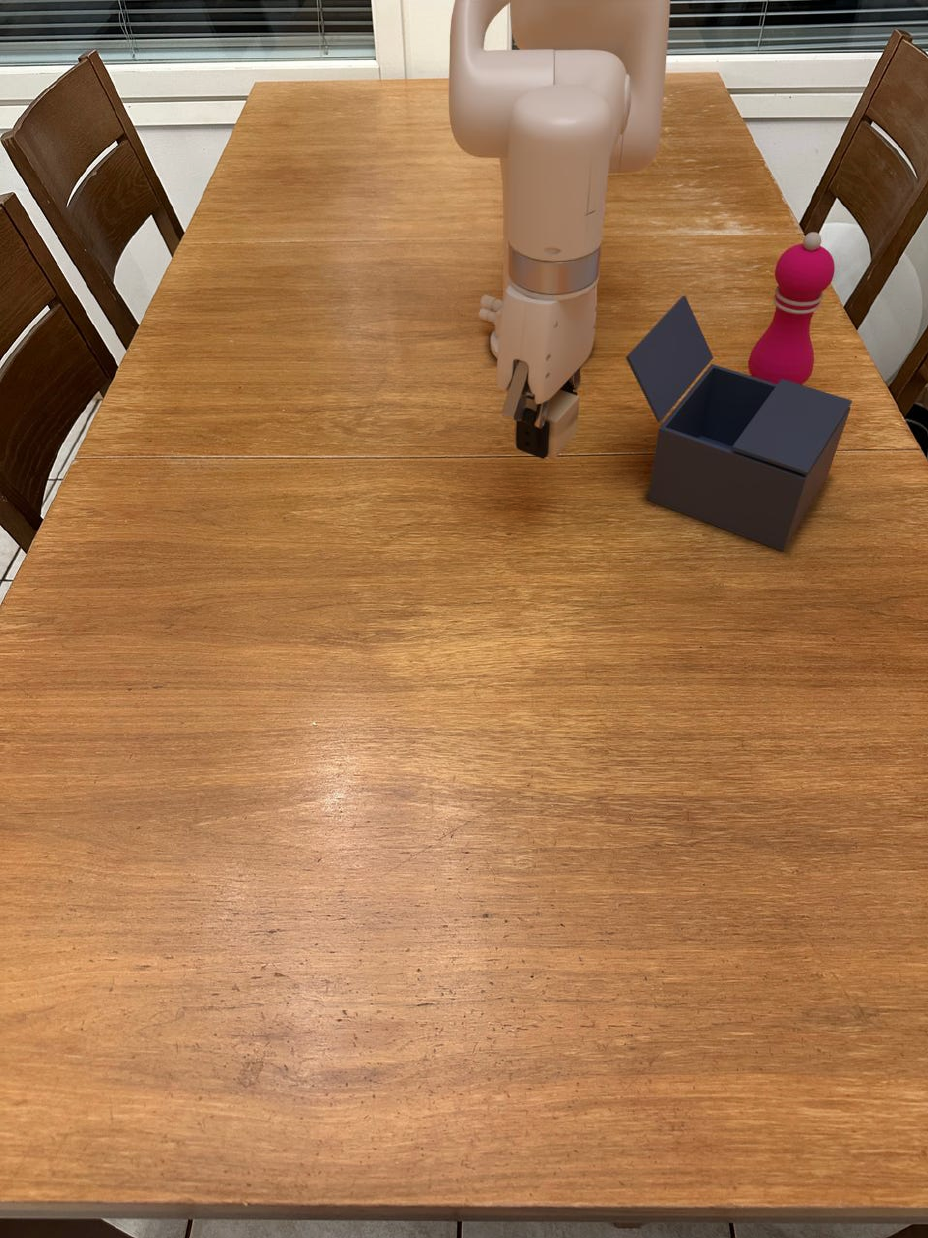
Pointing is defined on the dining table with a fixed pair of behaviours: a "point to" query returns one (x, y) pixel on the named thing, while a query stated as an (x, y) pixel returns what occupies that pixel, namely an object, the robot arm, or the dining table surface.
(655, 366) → the flap
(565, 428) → the block
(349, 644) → the dining table surface
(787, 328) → the pepper mill
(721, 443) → the carton
